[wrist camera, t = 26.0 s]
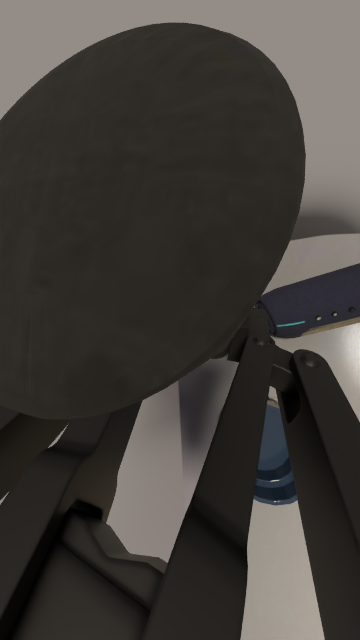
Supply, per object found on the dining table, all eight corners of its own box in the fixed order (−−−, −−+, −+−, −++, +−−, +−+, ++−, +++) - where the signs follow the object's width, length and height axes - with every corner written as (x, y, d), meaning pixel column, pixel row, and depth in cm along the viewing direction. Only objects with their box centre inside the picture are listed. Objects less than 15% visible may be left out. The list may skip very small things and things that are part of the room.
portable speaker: (264, 344, 36) (278, 342, 27) (250, 302, 38) (257, 287, 29) (404, 311, 31) (483, 294, 21) (376, 265, 33) (437, 232, 24)
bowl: (208, 404, 37) (205, 414, 31) (278, 386, 34) (288, 393, 28) (234, 483, 33) (236, 510, 27) (315, 470, 30) (335, 498, 25)
